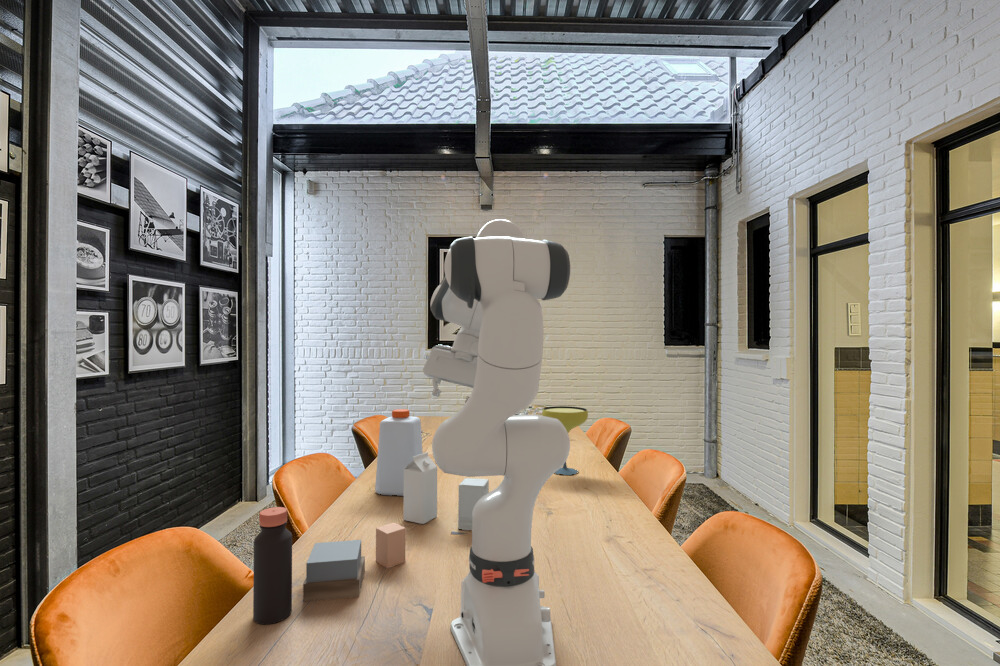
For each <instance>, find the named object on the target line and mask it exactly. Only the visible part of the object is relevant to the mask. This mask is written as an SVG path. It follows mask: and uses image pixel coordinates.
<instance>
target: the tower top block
mask: <svg viewBox="0 0 1000 666" xmlns="http://www.w3.org/2000/svg"><path fill="white" fill-rule="evenodd" d="M361 557H362V539H351V540H338V541H336V540H335V541H326V542H325V541H324V542H315V543H314V544H313V547H312V550H311V552H310V554H309V556H308V559H307V562H306V564H305V565H306V567H305V568H306V572H305V573H306V574H305V575H306V576H305V579H306V583H310V582H322V581H333V580H344V579H355V578H357V576H358V571H359V566H360V561H361Z"/></svg>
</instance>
